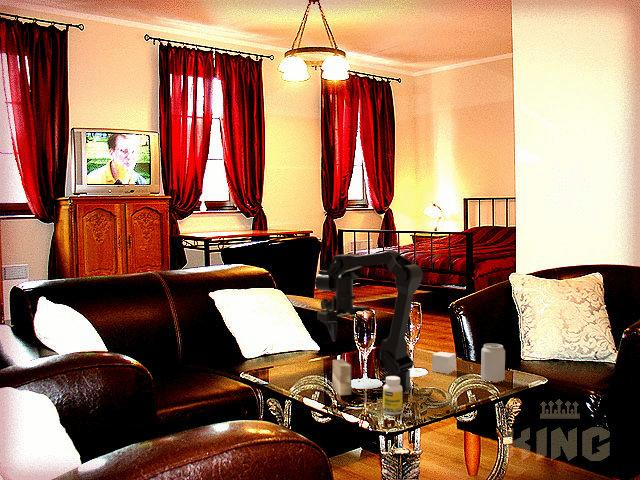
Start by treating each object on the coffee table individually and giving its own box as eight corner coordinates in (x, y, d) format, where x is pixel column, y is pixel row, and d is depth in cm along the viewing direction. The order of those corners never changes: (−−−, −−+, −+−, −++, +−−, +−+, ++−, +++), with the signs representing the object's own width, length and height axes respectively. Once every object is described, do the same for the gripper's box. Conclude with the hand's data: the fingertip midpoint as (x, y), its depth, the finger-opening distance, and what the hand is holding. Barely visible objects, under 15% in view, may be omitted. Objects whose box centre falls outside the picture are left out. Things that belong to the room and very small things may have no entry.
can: (506, 379, 226) (507, 343, 225) (502, 385, 220) (503, 348, 219) (483, 377, 229) (484, 341, 229) (478, 382, 223) (479, 346, 222)
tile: (343, 387, 217) (343, 359, 216) (351, 394, 209) (351, 365, 209) (332, 388, 216) (332, 359, 215) (340, 395, 208) (340, 366, 208)
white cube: (431, 372, 236) (432, 354, 236) (439, 368, 241) (439, 351, 241) (448, 374, 233) (448, 357, 232) (455, 370, 238) (455, 353, 237)
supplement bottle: (382, 414, 191) (382, 379, 190) (383, 408, 196) (383, 374, 196) (401, 415, 190) (402, 380, 189) (402, 409, 195) (402, 375, 195)
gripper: (350, 287, 238) (351, 332, 239) (306, 292, 227) (307, 339, 228) (371, 290, 229) (372, 337, 230) (327, 296, 218) (328, 344, 219)
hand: (344, 339), depth 227 cm, fingers open, 9 cm apart
